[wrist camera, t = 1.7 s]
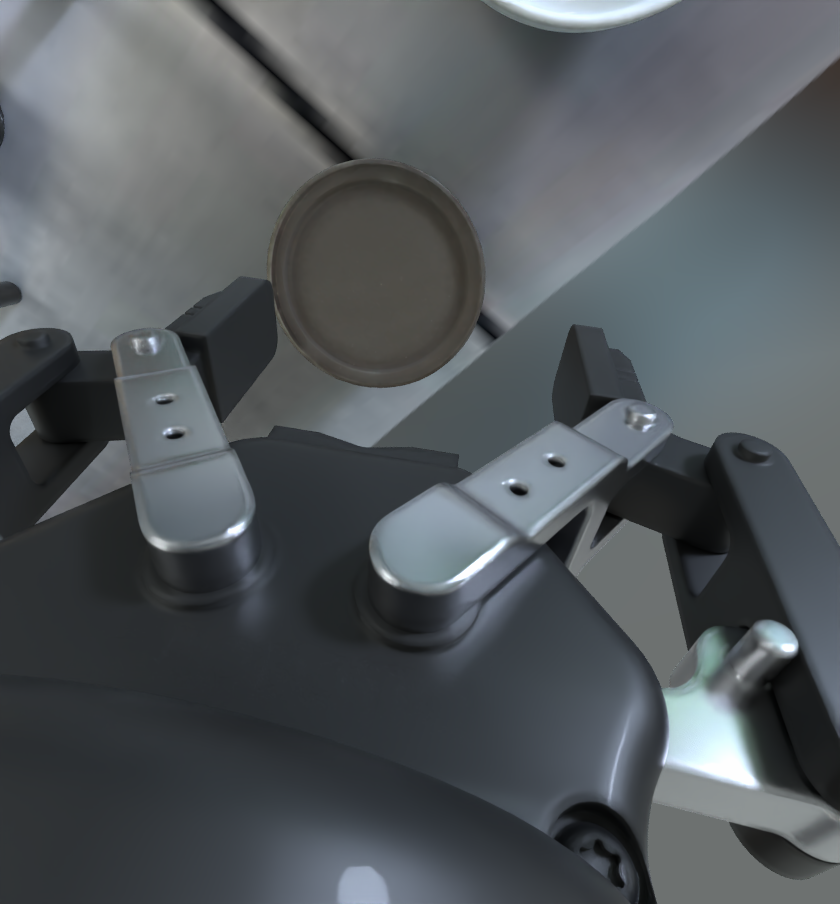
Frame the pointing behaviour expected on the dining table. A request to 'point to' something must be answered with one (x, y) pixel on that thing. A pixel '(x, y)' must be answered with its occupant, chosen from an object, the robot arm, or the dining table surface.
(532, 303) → the dining table surface
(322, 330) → the coffee can
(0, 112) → the pill bottle
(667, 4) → the serving bowl
